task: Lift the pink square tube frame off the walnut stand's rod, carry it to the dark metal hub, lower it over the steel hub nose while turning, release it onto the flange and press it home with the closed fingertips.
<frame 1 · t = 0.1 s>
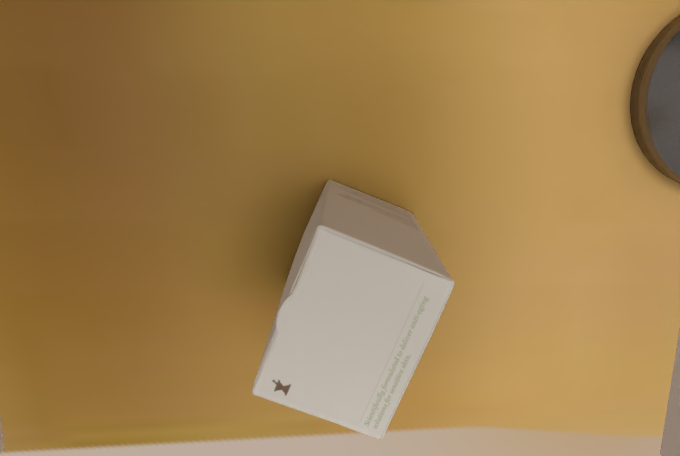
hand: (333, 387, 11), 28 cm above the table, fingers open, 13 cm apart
skincare box: (346, 244, 40), on the table
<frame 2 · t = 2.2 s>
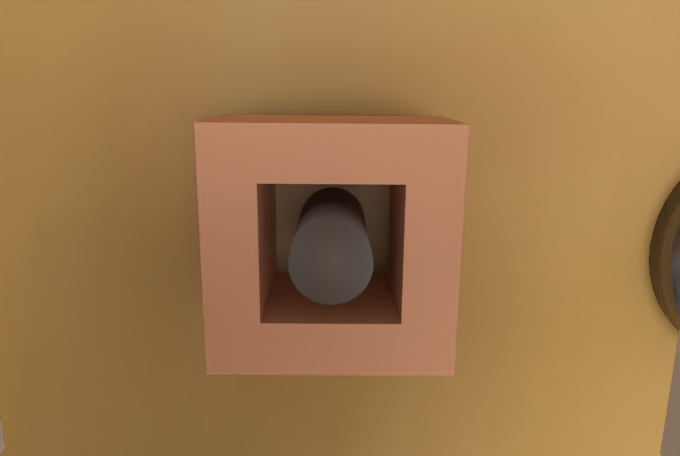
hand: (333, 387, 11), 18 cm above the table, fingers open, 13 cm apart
stand: (332, 205, 29), on the table
pink square tube frame: (332, 218, 26), point 3 cm above the table, touching stand
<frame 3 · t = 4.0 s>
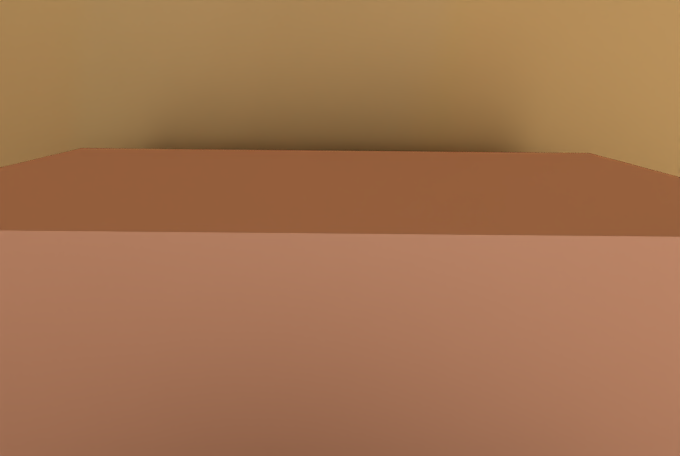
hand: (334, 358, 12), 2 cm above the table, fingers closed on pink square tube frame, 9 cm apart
pink square tube frame: (333, 382, 11), point 3 cm above the table, touching gripper, stand
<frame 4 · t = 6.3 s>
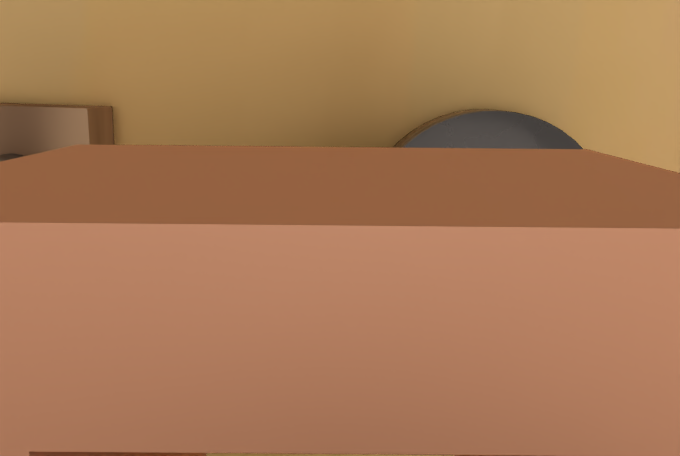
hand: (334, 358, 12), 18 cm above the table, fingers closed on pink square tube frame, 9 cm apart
stand: (46, 174, 30), on the table
pink square tube frame: (330, 378, 11), point 19 cm above the table, touching gripper
hub: (475, 226, 31), on the table
when the fingers open (4 cm above the table, at t = 8.9 s): pink square tube frame drops 2 cm, resting on hub.
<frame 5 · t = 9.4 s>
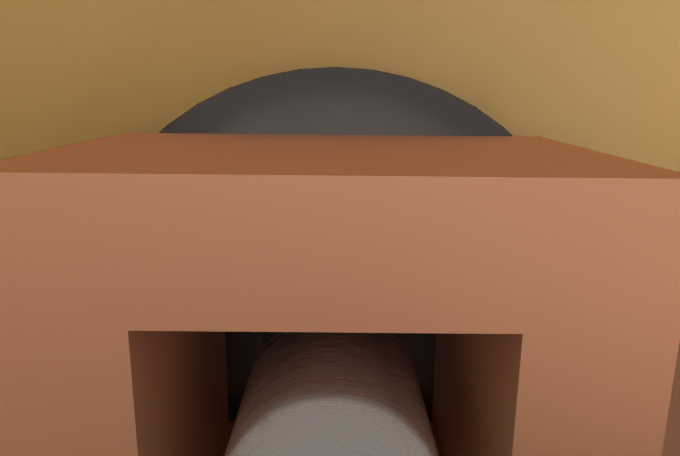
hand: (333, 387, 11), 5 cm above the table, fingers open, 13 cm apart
pink square tube frame: (330, 327, 14), point 2 cm above the table, touching hub
hub: (335, 293, 16), on the table
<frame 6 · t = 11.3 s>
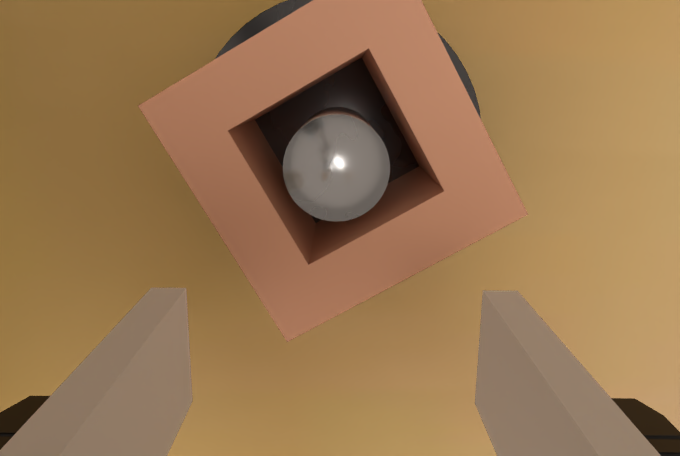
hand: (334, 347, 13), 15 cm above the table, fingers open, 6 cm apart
pink square tube frame: (337, 143, 24), point 2 cm above the table, touching hub
hub: (337, 140, 27), on the table
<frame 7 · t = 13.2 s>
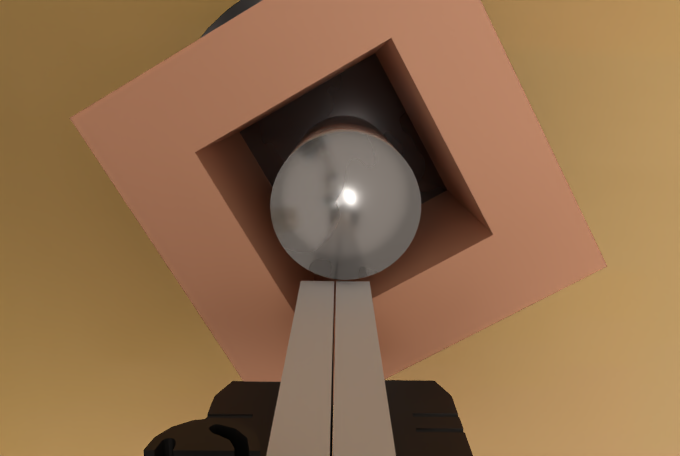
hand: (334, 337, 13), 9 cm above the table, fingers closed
pink square tube frame: (344, 161, 19), point 2 cm above the table, touching hub
hub: (343, 155, 22), on the table
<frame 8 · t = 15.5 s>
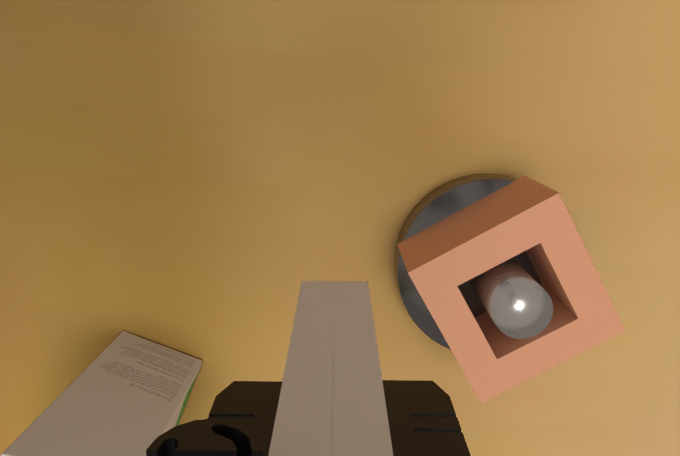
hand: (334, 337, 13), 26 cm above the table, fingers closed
skincare box: (145, 386, 43), on the table
pink square tube frame: (490, 269, 38), point 2 cm above the table, touching hub
hub: (481, 259, 41), on the table
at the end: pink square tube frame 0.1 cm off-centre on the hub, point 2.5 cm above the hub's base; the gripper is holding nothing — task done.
